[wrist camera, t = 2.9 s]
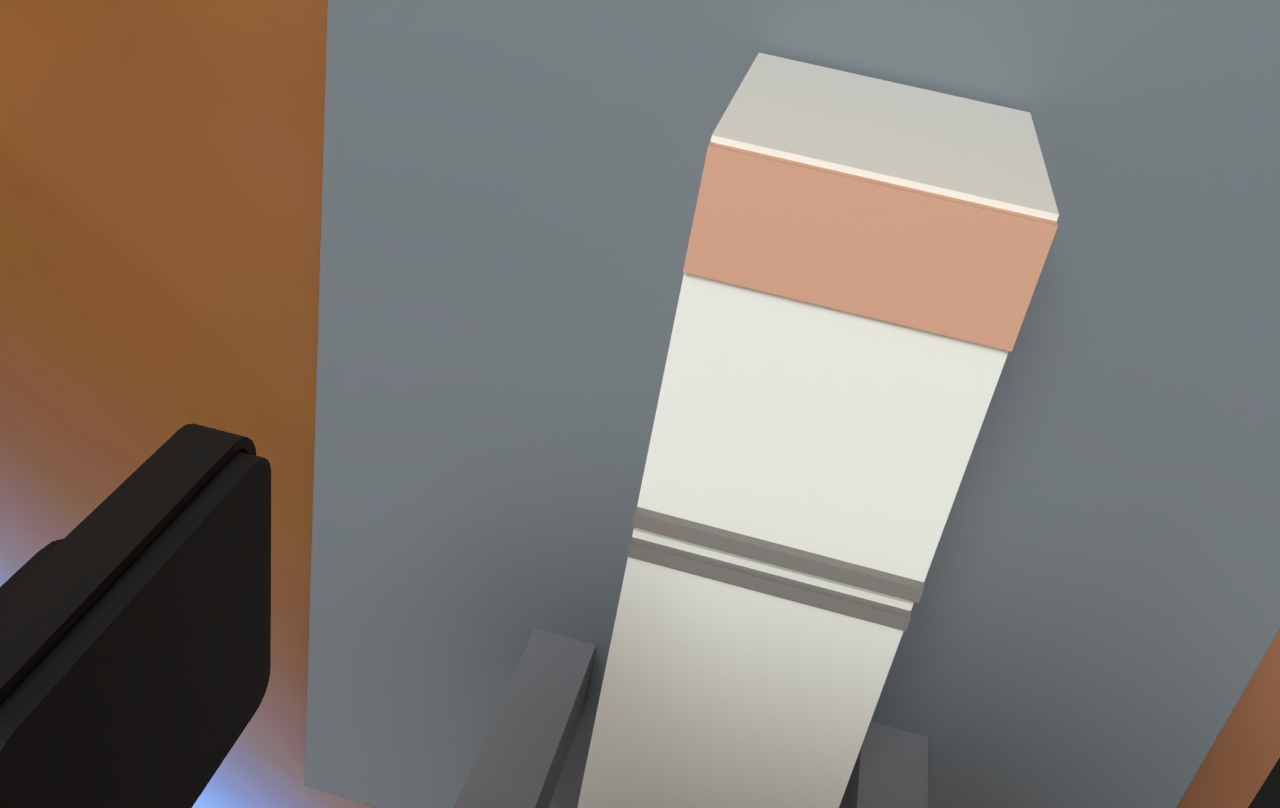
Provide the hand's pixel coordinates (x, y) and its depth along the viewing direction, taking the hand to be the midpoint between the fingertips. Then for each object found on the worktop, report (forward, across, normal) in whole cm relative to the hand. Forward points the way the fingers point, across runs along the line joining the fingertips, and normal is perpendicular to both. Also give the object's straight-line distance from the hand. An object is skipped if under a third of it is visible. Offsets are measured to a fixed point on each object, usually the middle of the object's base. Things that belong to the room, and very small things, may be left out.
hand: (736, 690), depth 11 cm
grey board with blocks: (+15, -1, +5) cm, 15 cm away
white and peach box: (+15, -1, +1) cm, 15 cm away
